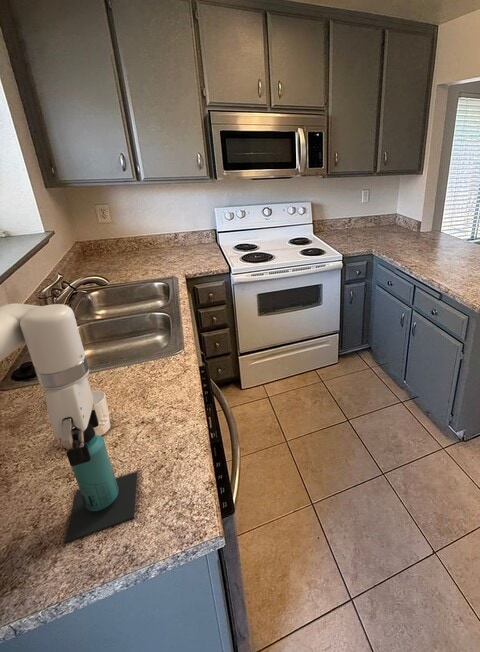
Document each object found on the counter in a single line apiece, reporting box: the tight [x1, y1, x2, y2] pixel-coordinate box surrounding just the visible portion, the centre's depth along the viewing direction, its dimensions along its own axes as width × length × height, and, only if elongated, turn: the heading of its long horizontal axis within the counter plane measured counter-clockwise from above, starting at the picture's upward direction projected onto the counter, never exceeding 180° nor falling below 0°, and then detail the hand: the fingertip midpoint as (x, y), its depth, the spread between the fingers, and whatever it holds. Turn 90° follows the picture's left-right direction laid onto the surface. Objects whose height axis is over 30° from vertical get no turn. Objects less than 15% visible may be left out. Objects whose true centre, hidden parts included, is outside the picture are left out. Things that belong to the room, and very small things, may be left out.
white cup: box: [91, 389, 111, 436], centre depth 95 cm, size 8×8×10 cm
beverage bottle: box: [71, 423, 119, 511], centre depth 73 cm, size 6×7×20 cm
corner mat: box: [64, 471, 138, 544], centre depth 76 cm, size 12×12×1 cm
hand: (85, 444), depth 71 cm, fingers open, 9 cm apart
